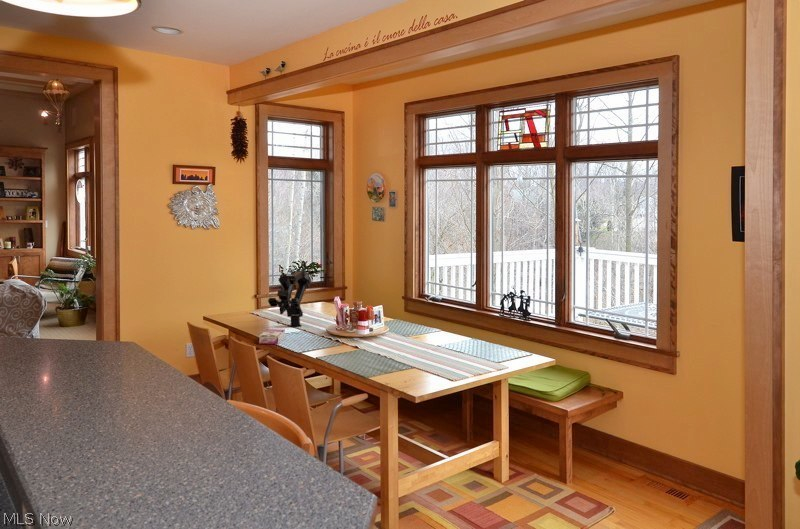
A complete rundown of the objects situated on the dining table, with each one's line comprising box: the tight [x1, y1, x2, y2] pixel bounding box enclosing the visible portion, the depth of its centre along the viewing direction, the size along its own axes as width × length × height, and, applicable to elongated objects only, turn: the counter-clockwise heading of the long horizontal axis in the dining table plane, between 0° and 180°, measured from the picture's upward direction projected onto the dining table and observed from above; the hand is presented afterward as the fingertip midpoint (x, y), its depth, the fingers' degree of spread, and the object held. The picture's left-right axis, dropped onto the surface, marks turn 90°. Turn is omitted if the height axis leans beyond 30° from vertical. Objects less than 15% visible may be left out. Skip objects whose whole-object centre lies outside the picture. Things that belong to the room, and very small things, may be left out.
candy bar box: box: [258, 328, 286, 345], centre depth 368 cm, size 11×5×16 cm
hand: (280, 313), depth 384 cm, fingers closed
